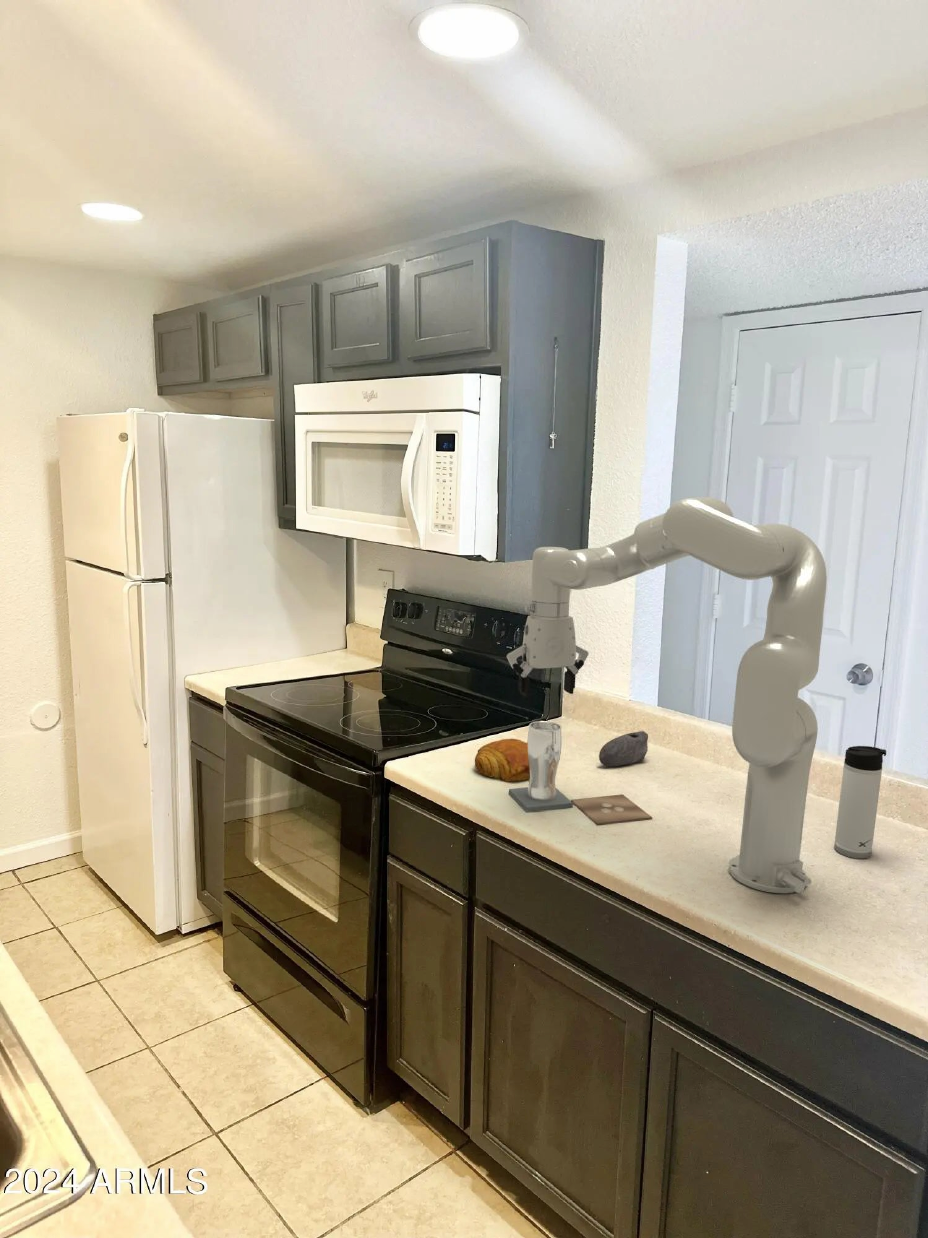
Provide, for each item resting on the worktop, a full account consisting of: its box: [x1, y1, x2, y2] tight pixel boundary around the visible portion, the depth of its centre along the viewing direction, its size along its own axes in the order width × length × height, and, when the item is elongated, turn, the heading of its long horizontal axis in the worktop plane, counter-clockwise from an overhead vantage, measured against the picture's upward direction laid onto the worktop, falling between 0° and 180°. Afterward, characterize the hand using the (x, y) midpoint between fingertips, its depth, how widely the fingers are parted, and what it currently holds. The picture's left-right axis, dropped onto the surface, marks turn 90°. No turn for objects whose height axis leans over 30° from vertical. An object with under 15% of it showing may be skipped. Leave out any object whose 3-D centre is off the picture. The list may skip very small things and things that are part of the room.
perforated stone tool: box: [598, 730, 649, 767], centre depth 196 cm, size 15×5×7 cm, turn 122°
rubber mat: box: [508, 786, 574, 813], centre depth 173 cm, size 10×10×1 cm
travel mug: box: [833, 745, 887, 860], centre depth 152 cm, size 6×7×20 cm
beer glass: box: [526, 720, 563, 801], centre depth 171 cm, size 7×7×15 cm
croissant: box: [474, 738, 530, 783], centre depth 188 cm, size 14×16×8 cm
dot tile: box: [570, 794, 653, 826], centre depth 169 cm, size 12×12×1 cm
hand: (546, 693), depth 168 cm, fingers open, 9 cm apart
